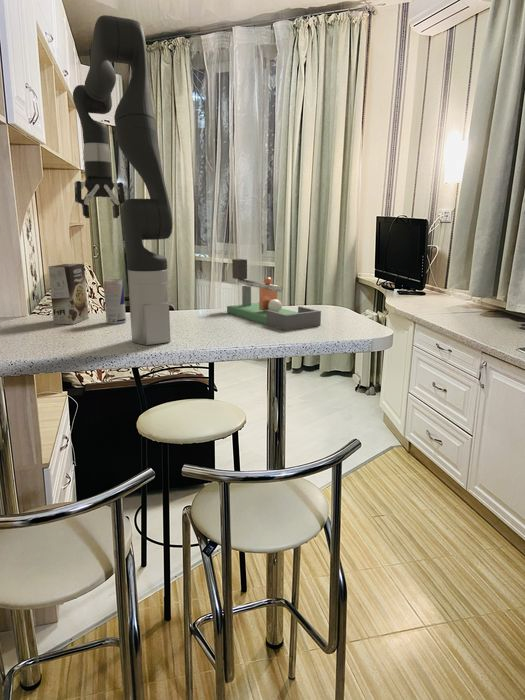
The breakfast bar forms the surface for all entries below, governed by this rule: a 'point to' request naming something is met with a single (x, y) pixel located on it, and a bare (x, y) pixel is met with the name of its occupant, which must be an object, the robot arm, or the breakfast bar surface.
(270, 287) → the kicker rod
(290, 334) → the breakfast bar surface
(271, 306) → the ball
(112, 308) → the energy drink
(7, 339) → the breakfast bar surface
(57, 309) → the coffee box
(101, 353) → the breakfast bar surface
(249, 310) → the pitch
